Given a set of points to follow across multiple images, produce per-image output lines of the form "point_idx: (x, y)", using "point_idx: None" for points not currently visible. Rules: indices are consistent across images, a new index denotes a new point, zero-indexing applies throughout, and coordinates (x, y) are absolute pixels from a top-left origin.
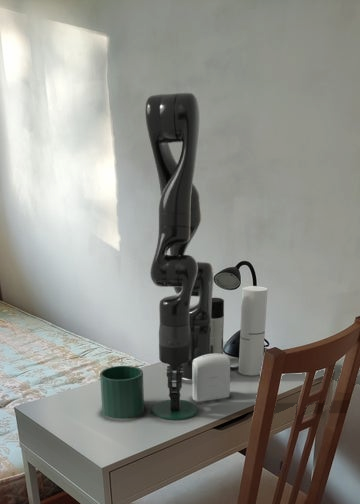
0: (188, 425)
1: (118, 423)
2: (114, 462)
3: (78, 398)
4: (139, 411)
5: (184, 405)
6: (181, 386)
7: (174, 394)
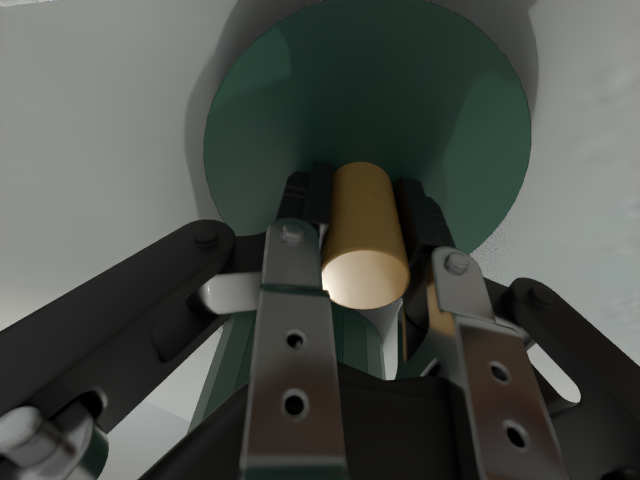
0: (584, 128)
1: (395, 363)
2: None
3: (189, 404)
4: (362, 336)
5: (320, 118)
6: (522, 344)
7: (532, 344)
